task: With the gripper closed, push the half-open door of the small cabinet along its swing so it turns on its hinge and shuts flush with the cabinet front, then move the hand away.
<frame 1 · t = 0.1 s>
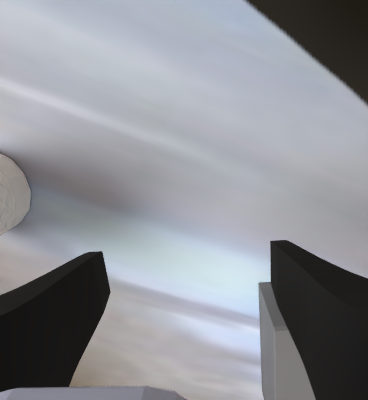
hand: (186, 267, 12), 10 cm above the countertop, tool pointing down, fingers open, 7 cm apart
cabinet: (288, 339, 24), on the countertop
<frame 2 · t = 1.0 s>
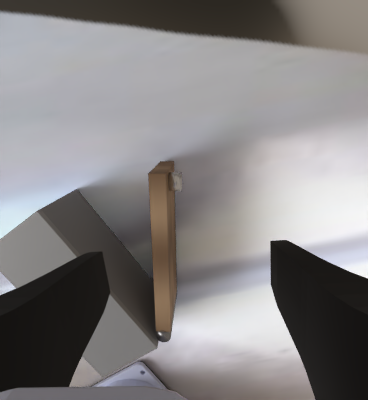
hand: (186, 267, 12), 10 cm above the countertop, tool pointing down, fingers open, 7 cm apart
cabinet door: (171, 249, 19), point 3 cm above the countertop, hinge at 35.0°
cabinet: (101, 261, 23), on the countertop
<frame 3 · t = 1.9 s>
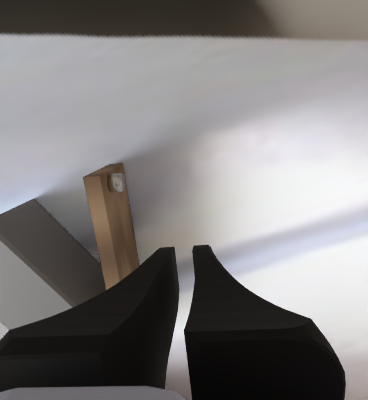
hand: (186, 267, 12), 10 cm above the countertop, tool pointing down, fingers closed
cabinet door: (125, 250, 20), point 3 cm above the countertop, hinge at 35.0°
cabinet: (67, 267, 23), on the countertop
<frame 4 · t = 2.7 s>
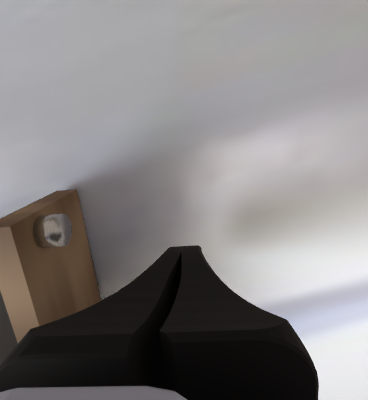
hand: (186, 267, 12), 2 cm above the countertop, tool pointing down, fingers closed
cabinet door: (79, 329, 12), point 3 cm above the countertop, hinge at 35.0°
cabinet: (6, 335, 16), on the countertop
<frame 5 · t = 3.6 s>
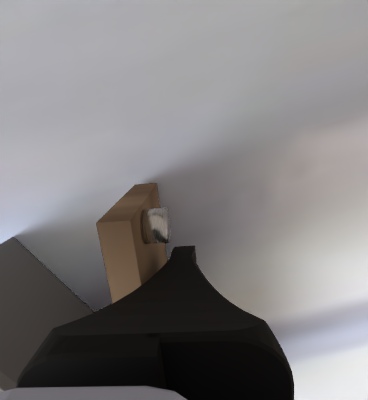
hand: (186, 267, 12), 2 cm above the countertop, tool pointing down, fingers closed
cabinet door: (163, 330, 12), point 3 cm above the countertop, hinge at 34.9°, touching gripper
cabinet: (66, 337, 15), on the countertop
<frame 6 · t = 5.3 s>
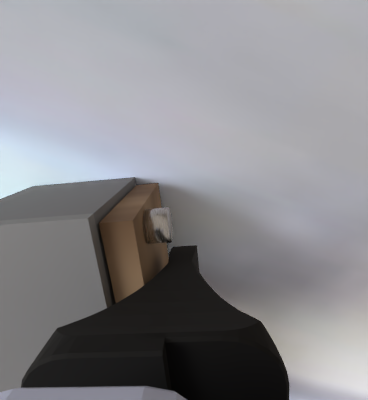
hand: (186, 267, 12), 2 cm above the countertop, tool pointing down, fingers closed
cabinet door: (166, 330, 12), point 3 cm above the countertop, hinge at -0.5°, touching gripper
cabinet: (105, 292, 14), on the countertop
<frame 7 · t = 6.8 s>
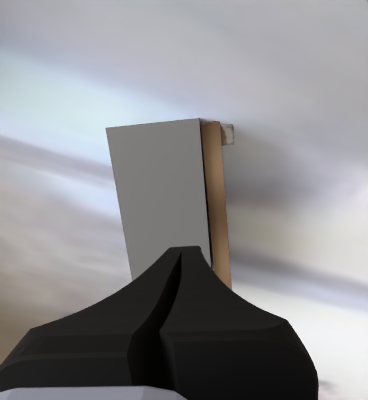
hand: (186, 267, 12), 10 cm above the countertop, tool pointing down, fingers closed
cabinet door: (222, 212, 18), point 3 cm above the countertop, hinge at -0.6°
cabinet: (174, 201, 21), on the countertop
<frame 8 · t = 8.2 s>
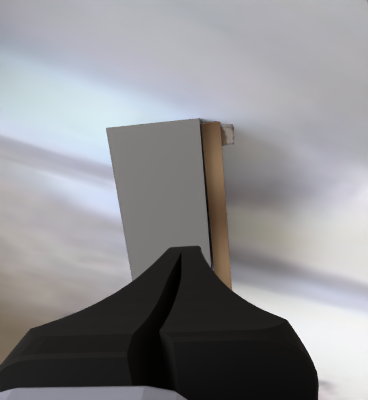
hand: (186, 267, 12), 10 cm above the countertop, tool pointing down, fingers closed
cabinet door: (222, 212, 18), point 3 cm above the countertop, hinge at -0.6°
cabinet: (174, 201, 21), on the countertop
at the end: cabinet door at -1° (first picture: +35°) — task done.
